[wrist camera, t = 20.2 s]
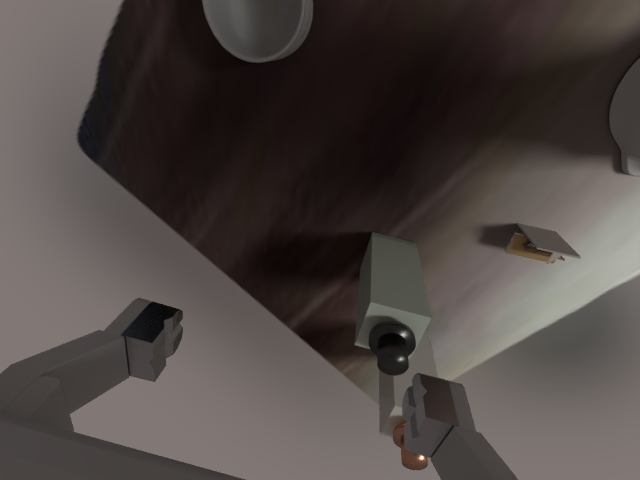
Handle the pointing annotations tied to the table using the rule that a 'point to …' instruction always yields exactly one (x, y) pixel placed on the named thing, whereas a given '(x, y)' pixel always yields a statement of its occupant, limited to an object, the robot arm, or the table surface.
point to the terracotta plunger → (408, 458)
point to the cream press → (403, 385)
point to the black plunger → (392, 346)
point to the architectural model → (539, 245)
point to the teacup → (259, 26)
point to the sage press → (391, 288)
